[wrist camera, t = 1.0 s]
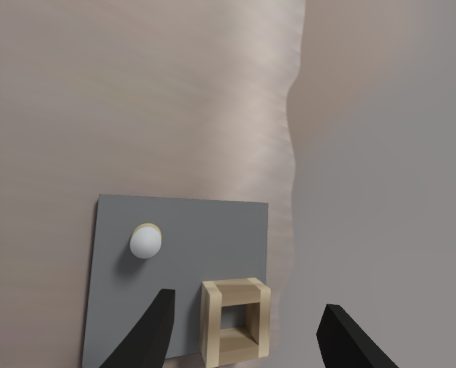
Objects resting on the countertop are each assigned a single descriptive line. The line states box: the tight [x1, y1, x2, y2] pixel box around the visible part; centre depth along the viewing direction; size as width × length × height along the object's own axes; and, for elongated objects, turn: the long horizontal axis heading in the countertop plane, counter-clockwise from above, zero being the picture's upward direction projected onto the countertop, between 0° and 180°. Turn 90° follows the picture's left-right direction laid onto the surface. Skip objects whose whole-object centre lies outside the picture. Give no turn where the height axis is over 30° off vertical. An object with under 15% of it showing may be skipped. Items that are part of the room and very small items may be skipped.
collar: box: [199, 278, 271, 368], centre depth 19 cm, size 6×6×3 cm
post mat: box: [82, 194, 268, 368], centre depth 19 cm, size 14×16×4 cm
